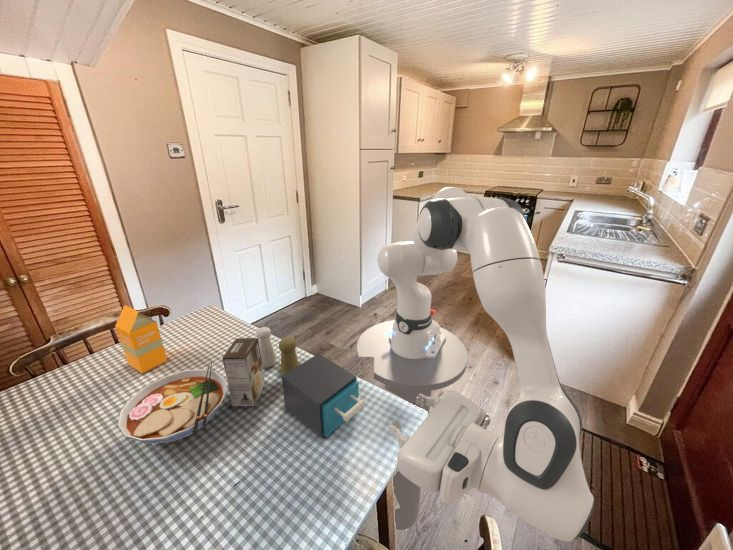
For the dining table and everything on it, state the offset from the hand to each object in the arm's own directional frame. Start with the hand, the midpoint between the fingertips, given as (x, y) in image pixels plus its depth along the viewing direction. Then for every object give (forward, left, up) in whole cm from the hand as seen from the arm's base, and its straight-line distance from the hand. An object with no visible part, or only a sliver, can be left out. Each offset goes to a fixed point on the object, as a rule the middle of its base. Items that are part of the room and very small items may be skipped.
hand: (404, 411), depth 60 cm
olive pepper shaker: (-4, -45, -16) cm, 48 cm away
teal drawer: (0, -22, -15) cm, 27 cm away
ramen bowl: (+26, -49, -16) cm, 58 cm away
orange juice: (+24, -83, -16) cm, 88 cm away
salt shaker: (-1, -53, -16) cm, 55 cm away
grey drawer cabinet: (0, -26, -16) cm, 31 cm away
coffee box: (+10, -45, -16) cm, 49 cm away
